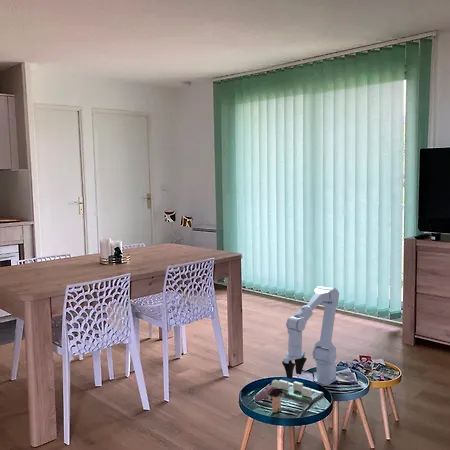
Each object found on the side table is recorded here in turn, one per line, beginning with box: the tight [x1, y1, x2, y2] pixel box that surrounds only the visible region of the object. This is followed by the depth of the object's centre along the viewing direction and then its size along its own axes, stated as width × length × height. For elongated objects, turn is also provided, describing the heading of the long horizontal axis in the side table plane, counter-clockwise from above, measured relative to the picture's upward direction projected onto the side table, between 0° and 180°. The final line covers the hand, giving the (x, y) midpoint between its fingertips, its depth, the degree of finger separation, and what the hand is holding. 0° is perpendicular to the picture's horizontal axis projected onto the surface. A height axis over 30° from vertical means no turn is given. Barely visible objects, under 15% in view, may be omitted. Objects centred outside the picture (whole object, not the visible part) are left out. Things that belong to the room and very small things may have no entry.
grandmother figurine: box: [267, 379, 285, 413], centre depth 207 cm, size 8×4×13 cm, turn 131°
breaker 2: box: [302, 386, 313, 397], centre depth 217 cm, size 2×4×3 cm, turn 48°
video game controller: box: [254, 383, 274, 402], centre depth 219 cm, size 10×5×7 cm, turn 143°
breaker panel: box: [278, 381, 325, 405], centre depth 223 cm, size 11×19×2 cm, turn 48°
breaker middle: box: [292, 380, 304, 392], centre depth 222 cm, size 2×4×3 cm, turn 47°
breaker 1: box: [278, 379, 289, 390], centre depth 225 cm, size 2×4×3 cm, turn 48°
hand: (294, 376), depth 220 cm, fingers open, 7 cm apart
